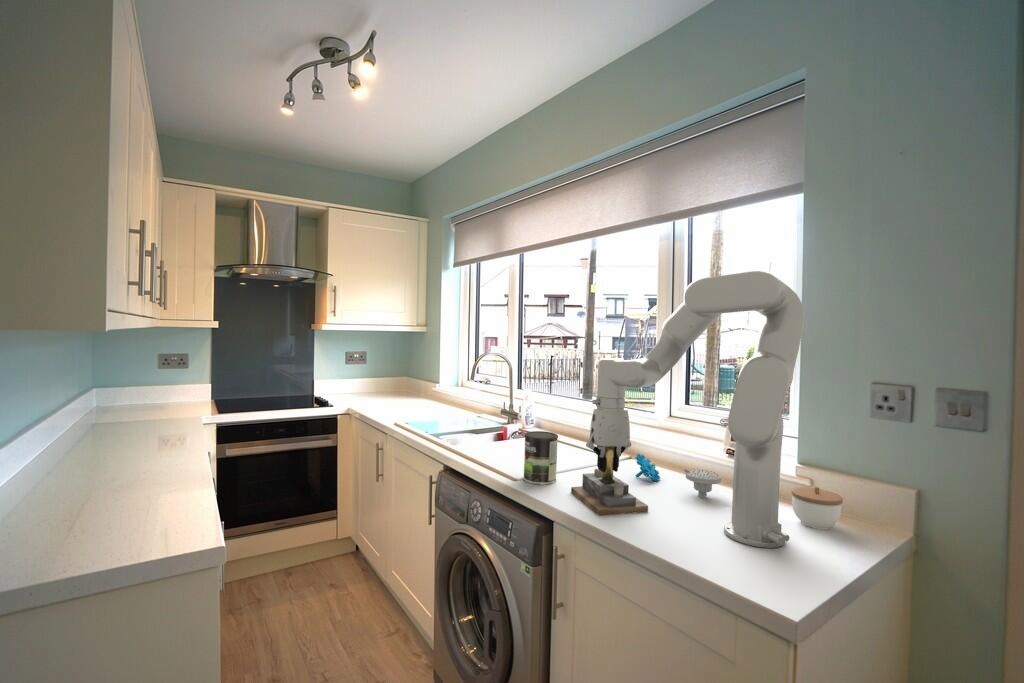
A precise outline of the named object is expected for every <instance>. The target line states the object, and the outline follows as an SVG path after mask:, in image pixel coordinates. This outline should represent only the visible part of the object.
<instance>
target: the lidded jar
mask: <svg viewBox="0 0 1024 683" xmlns="http://www.w3.org/2000/svg"><path fill="white" fill-rule="evenodd" d="M843 500H844V499H843V496H841V495H840V494H838V493H836V492H833V491H829V490H827V489H824V488H820V487H819V486H814V487H810V486H798V487H793V488H792V489H791V503H792V505H791V506H792V510H793V513H794V514H795V516H796V518H798V521H799V520H800V523H801V524H802V525H804V526H806V527H807V528H812V529H815V530H822V529H825V530H830V529H831V527H833V526H834V525H835V524H836V523H838V521H839V520H840V518H841V513H842V508H843V505H842V504H843V502H844V501H843ZM829 528H830V529H829Z"/></svg>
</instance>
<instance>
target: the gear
mask: <svg viewBox="0 0 1024 683" xmlns="http://www.w3.org/2000/svg"><path fill="white" fill-rule="evenodd" d="M635 460H636V464H637V465H638V466H639V469H640V471H639V472H637V473H636V474H635V477H636V478H637V477H638V478H640V476H642V475H644V474H645V475H644V476H646V478H649V477H650V480H651V482H654V481H655V482H656V481H658V482H659V481H660V479H661V477H660V475H659V474H660V473H659V472H660V471H658V470H657V469H656V464H655V463H654V462H653V463H651V460H650V458H647V459H646V456H645V455H644V454H642V455H641V453H638V454H636V456H635Z"/></svg>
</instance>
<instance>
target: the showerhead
mask: <svg viewBox="0 0 1024 683" xmlns="http://www.w3.org/2000/svg"><path fill="white" fill-rule="evenodd" d="M683 471H684V472H685V479H687V480H688V481H690V482H693V489H694V490H695V491H697V492H698V495H697V496H698V497H699V496H700V498H707V493H709V492H710V493H711V492H712V490H713V485H718V484H720V483H721V482H722V476H721V475H720V474H718V473H716V472H715V471H709V470H706V469H705V470H704V469H699V468H697V469H695V468H694V469H691V470H689V469H686V468H685V469H683Z"/></svg>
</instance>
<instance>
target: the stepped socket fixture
mask: <svg viewBox="0 0 1024 683" xmlns="http://www.w3.org/2000/svg"><path fill="white" fill-rule="evenodd" d="M629 487H630V485H629V484H627V483H626V482H625V481H623V480H621V479H619V478H618V477H617V476H615V475H613V481H603V480H602V471H600V470H599V469H598V468H595V469H594V472H592V473H591V472H588V473H582V486H571V487H570V493H571V494H572V495H574V496H575V497H576V498H577V499H578V500H580V501H581V502H582V503H583V504H584V505H585V506H586V507H588V508H589V509H590V510H591V511H592V512H593V513H595V514H596V515H597V516H598V515H599V516H609V514H612V515H621V514H620V513H624V514H634V513H633V512H637V513H645V512H644V511H648V512H649V505H647V503H644V502H643V501H642V500H640V499H639V498H637V497H636V496H634V495H633V494H631V493H630V492H629V489H630V488H629Z"/></svg>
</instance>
